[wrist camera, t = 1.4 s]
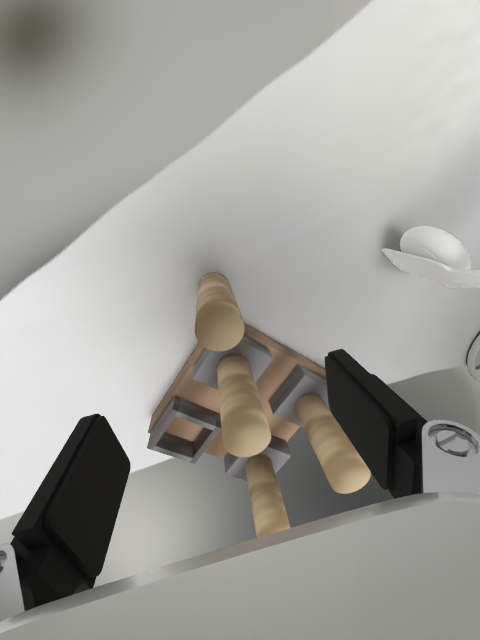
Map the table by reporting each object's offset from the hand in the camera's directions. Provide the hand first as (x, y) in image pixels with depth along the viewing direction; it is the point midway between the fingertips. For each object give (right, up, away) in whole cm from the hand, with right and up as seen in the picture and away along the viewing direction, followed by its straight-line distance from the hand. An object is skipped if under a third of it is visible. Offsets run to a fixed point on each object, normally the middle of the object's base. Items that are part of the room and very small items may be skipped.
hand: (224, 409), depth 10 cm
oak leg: (-2, +7, +19) cm, 20 cm away
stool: (+1, -7, +25) cm, 26 cm away
